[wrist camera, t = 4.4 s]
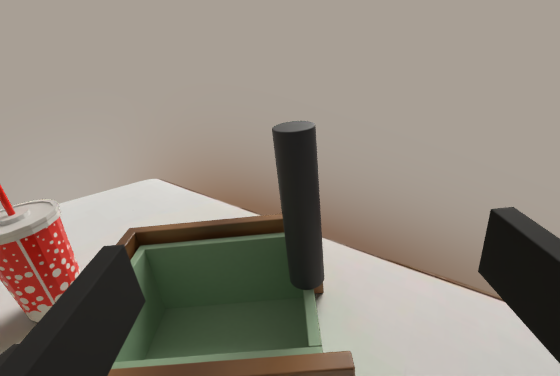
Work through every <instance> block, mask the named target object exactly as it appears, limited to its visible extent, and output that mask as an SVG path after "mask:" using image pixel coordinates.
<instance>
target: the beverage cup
mask: <svg viewBox="0 0 560 376" xmlns="http://www.w3.org/2000/svg"><path fill="white" fill-rule="evenodd" d="M0 201H1V203H2V205H3V207H4V209H1V210H0V280H1V281H2V283H3V284H4V285H5V287H6V288H7V289H8V291H9V292H10V293H11V295H12V296H13V297H14V299H15V300H16V301H17V303H18V304H19V305H20V307H21V308H22V309H23V311H24V312H25V313H26V315H27V316H28V317H29V319H30V320H32V321H35V322H39V321H40V320H41V319H42V317H43V316H44V315H45V314H46V313H47V312H48V310H49V309H50V308H51V307H52V306H53V305H54V303H55V302H56V301H57V300H58V299H59V298H60V296H61V295H62V294H63V293H64V292H65V291H66V289H67V288H68V287H69V286H70V285H71V284H72V282H73V281H74V280H75V279H76V278H77V277H78V275H79V274H80V273H81V272H80V269H79V267H78V264H77V262H76V259H75V256H74V254H73V251H72V248H71V246H70V243H69V240H68V238H67V235H66V232H65V230H64V227H63V224H62V222H61V219H60V214H61V211H60V209H59V207H60V206H59V204H58V203H57V202H56V201H55V200H48V199H42V200H34V201H28V202H24V203H20V204H16V205H13V206H11V204H10V202H9V200H8V198H7V196H6V194H5V193H4V191H3V189H2V187H1V185H0Z"/></svg>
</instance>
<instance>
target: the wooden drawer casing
mask: <svg viewBox="0 0 560 376" xmlns="http://www.w3.org/2000/svg"><path fill="white" fill-rule="evenodd" d="M282 232H284V226H283V217H282V214H275V215H265V216H254V217H243V218H233V219H222V220H212V221H201V222H191V223H180V224H170V225H159V226H148V227H138V228H129V229H128V230H127V232H126V233H125V234H124V235H123V237H122V238H121V239H120V240H119V242H118V243H117V244H116V245H123V244H124V246H125V248H126V251H127V254H128V256H129V259H130V260H131V259H132V257H133V256H134V254H135V253H136V251H137V250H138V248H139V247H140V246H141V245H152V244H163V243H174V242H185V241H196V240H206V239H217V238H228V237H239V236H250V235H261V234H271V233H282ZM315 293H323V283H322V284H321V285H320V286H319V287H317V288H315V289H314V294H315ZM108 376H355V367H354V362H353V358H352V354H351V352H350V351H341V352H328V353H315V354H302V355H289V356H276V357H263V358H250V359H236V360H223V361H210V362H197V363H184V364H171V365H158V366H145V367H131V368H118V369H111V370H110V372H109V374H108Z"/></svg>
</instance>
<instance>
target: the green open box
mask: <svg viewBox="0 0 560 376" xmlns="http://www.w3.org/2000/svg"><path fill="white" fill-rule="evenodd" d="M272 132H273V141H274V149H275V158H276V166H277V174H278V183H279V191H280V200H281V209H282V217H283V226H284V232H282V233H271V234H261V235H250V236H239V237H228V238H217V239H206V240H196V241H185V242H174V243H163V244H152V245H141V246H140V247H139V248H138V250H137V251H136V253H135V254H134V256H133V257H132V259H131V260H130V261H131V264H132V267H133V269H134V272H135V274H136V277H137V280H138V282H139V285H140V287H141V290H142V293H143V295H144V298H145V300H146V302H145V303H144V305H143V307H142V309H141V311H140V313H139V315H138V317H137V319H136V321H135V323H134V325H133V327H132V329H131V331H130V333H129V335H128V337H127V339H126V341H125V343H124V345H123V347H122V348H121V350H120V352H119V354H118V356H117V358H116V360H115V362H114V364H113V366H112V368H111V369H118V368H131V367H145V366H158V365H171V364H184V363H197V362H210V361H223V360H236V359H250V358H263V357H276V356H289V355H302V354H315V353H323V350H322V343H321V336H320V329H319V323H318V316H317V309H316V302H315V295H314V289H315V288H317V287H319V286H320V285H321V284H322V283H323V281H324V266H323V249H322V232H321V215H320V199H319V181H318V164H317V146H316V129H315V124H314V123H312V122H308V121H292V122H286V123H282V124H279V125H276V126H274V127H273V128H272Z"/></svg>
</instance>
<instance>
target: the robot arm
mask: <svg viewBox="0 0 560 376" xmlns="http://www.w3.org/2000/svg"><path fill="white" fill-rule="evenodd" d="M478 272H479V273H480V274H481V275H482V276H483V277H484V279H485V280H486V281H487V282H488V283H489V284H490V285H491V287H492V288H493V289H494V290H495V291H496V292H497V293H498V294H499V296H500V297H501V298H502V299H503V300H504V301H505V302H506V303H507V305H508V306H509V307H510V308H511V309H512V310H513V311H514V312H515V314H516V315H517V316H518V317H519V318H520V319H521V320H522V321H523V323H524V324H525V325H526V326H527V327H528V328H529V329H530V330H531V332H532V333H533V334H534V335H535V336H536V337H537V338H538V339H539V341H540V342H541V343H542V344H543V345H544V346H545V347H546V348H547V350H548V351H549V352H550V353H551V354H552V355H553V356H554V357H555V359H556V360H557V361H558V362H559V363H560V239H559V238H558V237H556V236H555V235H553V234H552V233H550V232H549V231H548V230H546V229H545V228H543V227H542V226H540V225H538V224H537V223H536V222H534V221H533V220H532V219H530V218H529V217H527V216H526V215H524V214H523V213H521V212H519V211H518V210H517V209H515V208H514V207H509V208H498V209H491V211H490V217H489V221H488V226H487V231H486V236H485V241H484V246H483V250H482V256H481V260H480V265H479V270H478ZM145 302H146V300H145V298H144V295H143V293H142V290H141V287H140V285H139V282H138V280H137V277H136V274H135V272H134V269H133V267H132V264H131V261H130V259H129V256H128V254H127V251H126V248H125V246H124V244H123V245H112V246H103V248H102V249H101V250H100V251H99V252H98V253H97V255H96V256H95V257H94V258H93V259H92V260H91V261H90V263H89V264H88V265H87V266H86V267H85V268H84V270H83V271H82V272H81V273H80V274H79V275H78V277H77V278H76V279H75V280H74V281H73V282H72V284H71V285H70V286H69V287H68V288H67V289H66V291H65V292H64V293H63V294H62V295H61V296H60V298H59V299H58V300H57V301H56V302H55V303H54V305H53V306H52V307H51V308H50V309H49V310H48V312H47V313H46V314H45V315H44V316H43V317H42V319H41V320H40V321H39V322H38V323H37V324H36V326H35V327H34V328H33V329H32V330H31V331H30V332H29V334H28V335H27V336H26V337H25V338H24V339H23V341H22V342H21V343H20V344H14V345H12V346H11V347H10V348H8V349H7V350H6V351H5V352H3V353H2V354H1V355H0V376H108V374H109V372H110V370H111V368H112V366H113V364H114V362H115V360H116V358H117V356H118V354H119V352H120V350H121V348H122V347H123V345H124V343H125V341H126V339H127V337H128V335H129V333H130V331H131V329H132V327H133V325H134V323H135V321H136V319H137V317H138V315H139V313H140V311H141V309H142V307H143V305H144V303H145Z"/></svg>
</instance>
